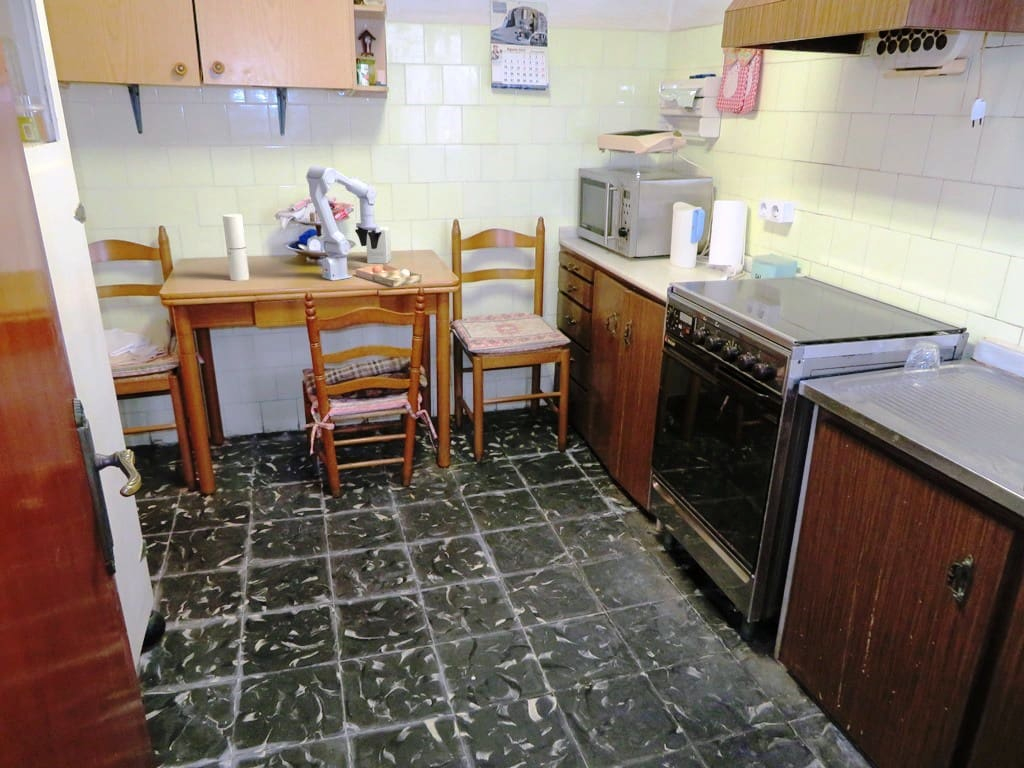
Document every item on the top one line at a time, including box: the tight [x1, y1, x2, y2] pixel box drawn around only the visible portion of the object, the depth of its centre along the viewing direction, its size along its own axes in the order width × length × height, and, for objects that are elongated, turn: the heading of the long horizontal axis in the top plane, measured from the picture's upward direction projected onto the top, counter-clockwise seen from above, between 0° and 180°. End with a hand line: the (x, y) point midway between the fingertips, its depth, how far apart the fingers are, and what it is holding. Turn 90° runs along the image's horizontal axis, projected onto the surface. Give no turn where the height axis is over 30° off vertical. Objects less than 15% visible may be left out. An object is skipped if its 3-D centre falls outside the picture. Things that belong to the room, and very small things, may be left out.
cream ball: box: [400, 269, 410, 278], centre depth 292 cm, size 4×4×4 cm
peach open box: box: [355, 264, 403, 282], centre depth 299 cm, size 14×12×3 cm
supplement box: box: [365, 226, 392, 265], centre depth 321 cm, size 9×9×15 cm
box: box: [373, 269, 423, 288], centre depth 290 cm, size 14×12×3 cm
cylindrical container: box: [222, 213, 250, 282], centre depth 285 cm, size 7×7×25 cm
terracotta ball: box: [372, 264, 382, 274], centre depth 298 cm, size 4×4×4 cm
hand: (369, 247), depth 306 cm, fingers open, 7 cm apart
